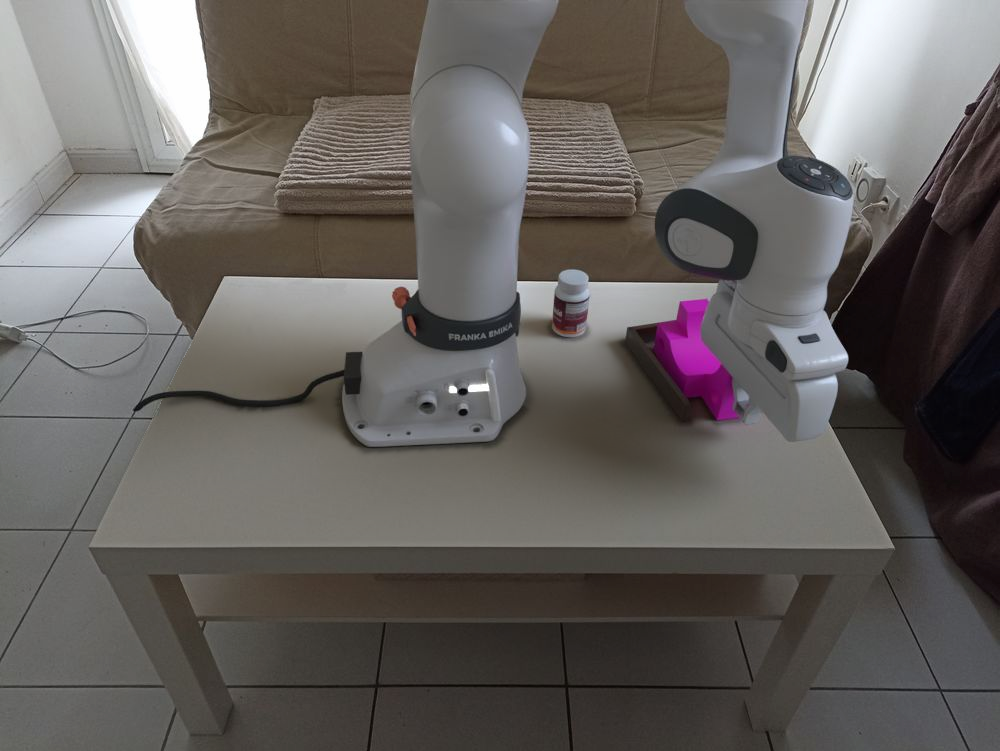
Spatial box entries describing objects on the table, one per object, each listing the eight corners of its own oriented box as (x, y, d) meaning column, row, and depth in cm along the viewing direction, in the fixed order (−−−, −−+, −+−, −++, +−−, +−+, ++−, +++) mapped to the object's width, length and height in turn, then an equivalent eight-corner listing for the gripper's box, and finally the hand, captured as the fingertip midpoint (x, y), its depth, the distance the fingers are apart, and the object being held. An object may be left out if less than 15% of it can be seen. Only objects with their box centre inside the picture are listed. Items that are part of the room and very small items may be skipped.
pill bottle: (548, 320, 106) (552, 268, 101) (581, 318, 107) (586, 266, 102) (555, 339, 103) (560, 287, 98) (589, 337, 103) (595, 284, 98)
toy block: (653, 350, 101) (661, 302, 97) (696, 345, 102) (706, 298, 98) (697, 422, 90) (709, 373, 85) (746, 416, 91) (760, 367, 86)
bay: (682, 422, 90) (686, 405, 88) (624, 342, 103) (627, 327, 101) (766, 406, 92) (771, 390, 91) (699, 330, 105) (702, 315, 104)
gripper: (698, 271, 85) (678, 368, 94) (803, 378, 70) (767, 482, 78) (748, 264, 87) (723, 360, 95) (860, 368, 71) (819, 471, 80)
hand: (744, 416), depth 87 cm, fingers closed
